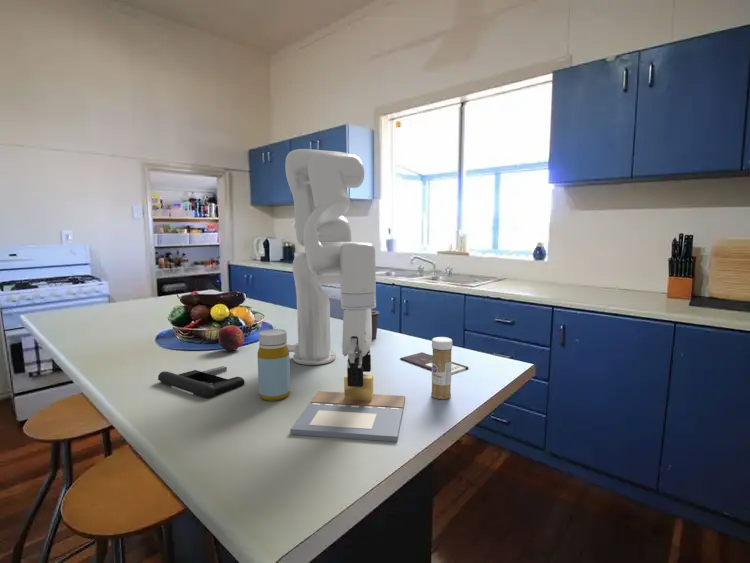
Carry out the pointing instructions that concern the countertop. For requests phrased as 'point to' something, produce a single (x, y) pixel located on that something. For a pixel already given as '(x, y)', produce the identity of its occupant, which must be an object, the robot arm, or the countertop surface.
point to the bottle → (273, 365)
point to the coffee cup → (374, 323)
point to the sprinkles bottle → (441, 367)
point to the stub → (359, 396)
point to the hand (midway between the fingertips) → (359, 378)
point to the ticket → (349, 422)
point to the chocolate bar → (430, 362)
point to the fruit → (230, 337)
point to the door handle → (192, 383)
